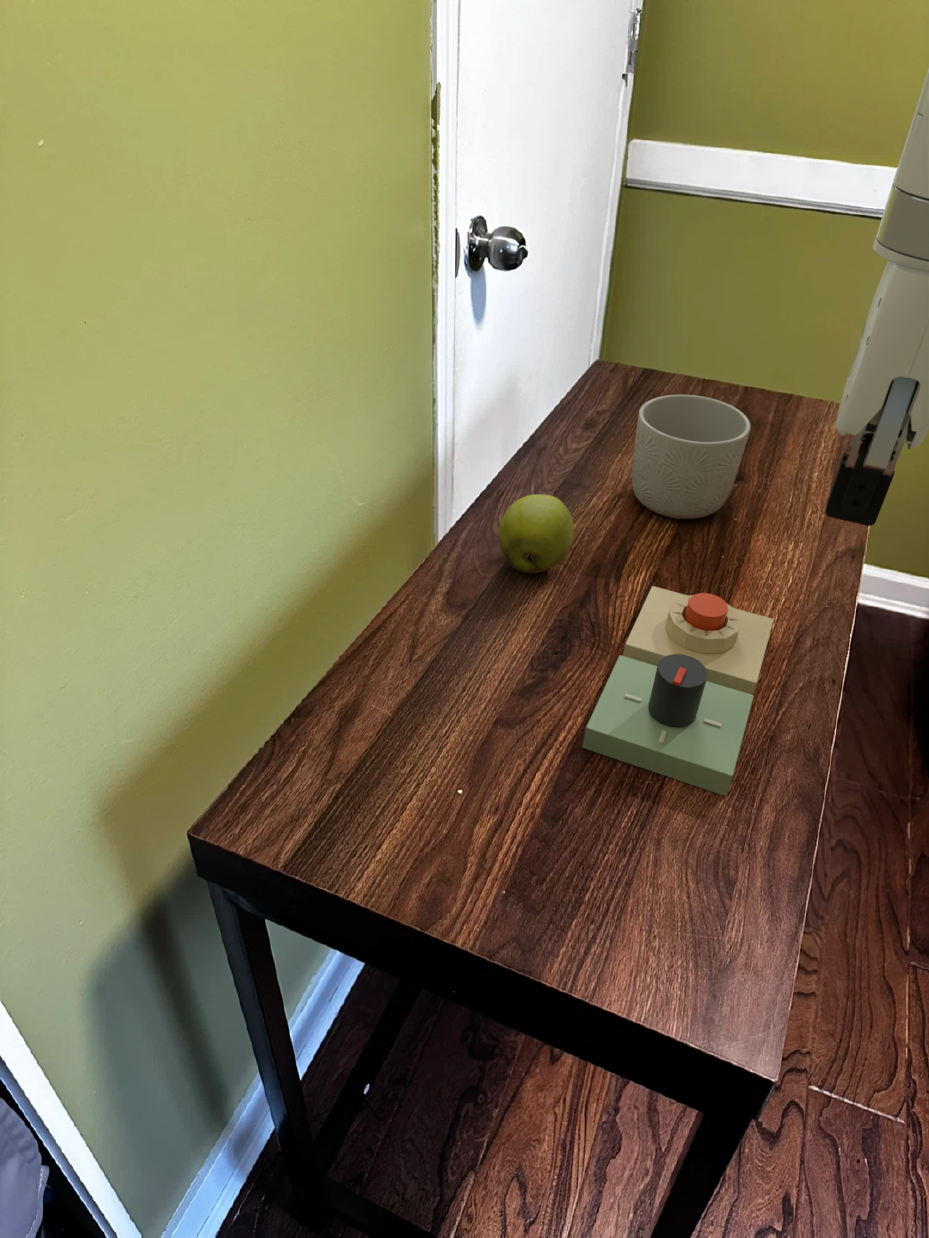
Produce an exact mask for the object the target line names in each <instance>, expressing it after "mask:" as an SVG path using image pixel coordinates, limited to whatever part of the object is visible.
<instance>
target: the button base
mask: <svg viewBox="0 0 929 1238" xmlns="http://www.w3.org/2000/svg"><path fill="white" fill-rule="evenodd" d="M693 595H694V594H692V595H691V594H690V595H688V594H684V593H680V592H677V591H673V590H669V589H666V588H663V587H658V586H654V585H651V588H650V590H649V592H648V594H647V596H646V598H645V600H644V603H643V605H642V607H641V609H640V611H639V614H638V616H637V618H636V620H635V622H634V625H633V626H632V629H631V631H630V633H629V635H628V637H627V639H626V642H625V644H624V649H623V653H622V656H625V657H628V658H631V659H635V660H638V661H641V662H645V663H648V664H651V665H655V666H658V663H659V661H660V660H661V659H662V658H663V657H665V656H668V655H672V654H683V655H687V656H690V657H693V658H695V659H697V660H698V661H700V662H701V663H702V664H703V665H704V666H705V668H706V670H707V673H708V677H707V680H706V681H708V682H711V683H714V684H718V685H721V686H724V687H728V688H731V689H734V690H738V691H741V692H744V693H748V694H751V695H754V694H755V690H756V687H757V684H758V682H759V677H760V673H761V670H762V665H763V663H764V658H765V654H766V650H767V647H768V643H769V639H770V634H771V631H772V628H773V623H774V618H771V617H768V616H766V615H765V616H764V615H761V614H757V613H753V612H749V611H746V610H742V609H739V608H735V607H733V606H731V605H729V603H727V602H726V604H727V606H728V611H727V615H726V618H725V622H724V625H723V626H722V628H720V629H719V630H716V631H704V630H701V629H697V628H694V627H693V626H692V625H690V624H689V623H687V621H686V619H685V613H686V609H687V605H688V601H689V598H690V597H691V596H693Z"/></svg>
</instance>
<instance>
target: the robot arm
mask: <svg viewBox="0 0 929 1238" xmlns="http://www.w3.org/2000/svg"><path fill="white" fill-rule="evenodd" d="M872 250H873V251H874V253H877V255H878V256H879V257H880V258H883V259H885V260H887V262H886V264H885V267H884V270H883V272H882V275H881V277H880V280H879V282H878V285H877V288H876V290H875V293H874V296H873V298H872V302H871V304H870V308H869V311H868V314H867V317H866V319H865V322H864V326H863V329H862V332H861V336H860V338H859V341H858V345H857V348H856V351H855V354H854V357H853V359H852V363H851V367H850V369H849V371H848V372H849V373H848V375H847V378H846V380H845V381H846V382H845V384H844V386H843V387H844V388H843V391H842V395H841V398H840V402H839V407H838V412H837V416H836V420H835V426H834V428H835V430H836V432H837V433H838V434H839V436H841V437H845V436H846V434H847V435H852V438H851V441H850V444H849V447H848V451H847V452H848V453H846V452H843V455H842V458H841V461H840V463H839V466H838V469H837V473H836V475H835V477H834V481H833V484H832V486H831V490H830V493H829V495H828V499H827V503H826V507H825V515H826V516H827V517H828V518H832V519H837V520H840V521H845V522H849V523H854V524H858V525H863V526H867V527H872V526H874V525H875V524H876V521H877V520H878V517H879V515H880V512H881V510H882V508H883V504H884V501H885V499H886V497H887V494H888V491H889V489H890V486H891V484H892V482H893V479H894V477H895V472H896V471H895V468H896V465H897V462H898V460H899V458H900V456H901V452H902V451H903V448H904V445H905V444H907V449H908V450H912V449H915V448H917V447H919V446H921V445H922V443H923V442H924V440H925V438H926V436H927V434H928V432H929V67H928V68H927V72H926V75H925V77H924V81H923V85H922V88H921V91H920V94H919V97H918V100H917V104H916V106H915V110H914V113H913V117H912V119H911V123H910V126H909V129H908V132H907V136H906V138H905V142H904V146H903V148H902V151H901V155H900V158H899V162H898V164H897V168H896V171H895V175H894V177H893V180H892V184H891V187H890V190H889V194H888V197H887V200H886V203H885V207H884V210H883V213H882V216H881V219H880V223H879V226H878V229H877V232H876V236H875V239H874V241H873V243H872Z"/></svg>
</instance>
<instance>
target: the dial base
mask: <svg viewBox="0 0 929 1238" xmlns="http://www.w3.org/2000/svg"><path fill="white" fill-rule="evenodd" d="M656 670H657V666H655V665H651V664H648V663H645V662H641V661H638V660H635V659H631V658H628V657H625V656H623V655H622V654H620V655H618V658H617V659H616V662H615V664H614V666H613V668H612V670H611V673H610V674H609V676H608V678H607V681H606V684H605V686H604V688H603V690H602V692H601V694H600V696H599V698H598V700H597V703H596V705H595V707H594V709H593V712H592V714H591V716H590V718H589V720H588V722H587V724H586V727H585V731H584V737H583V742H582V749H585V750H588V751H590V752H594V753H597V754H599V755H602V756H606V757H608V758H611V759H613V760H618V761H620V762H623V763H626V764H629V765H632V766H635V767H637V768H640V769H644V770H646V771H650V772H652V773H656V774H659V775H661V776H663V777H666V778H667V777H668V778H670V779H674V780H676V781H679V782H682V783H685V784H687V785H690V786H694V787H696V788H700V789H703V790H704V791H705V790H706V791H709V792H711V793H714V794H717V795H721V796H722V797H723V796H724V797H726V796H727V795H728V791H729V789H730V786H731V784H732V783H731V782H732V780H733V778H734V773H735V770H736V767H737V761H738V759H739V754H740V750H741V746H742V744H743V739H744V735H745V732H746V728H747V724H748V719H749V717H750V712H751V709H752V705H753V702H754V701H753V700H754V697H755V695H754V694H753V695H751V694H748V693H744V692H741V691H738V690H734V689H731V688H728V687H724V686H721V685H718V684H714V683H711V682H708V681H706V684H705V687H704V691H703V694H702V698H701V701H700V705H699V708H698V712H697V715H696V718H695V720H694V722H692V723H691V724H690V725H688V726H685V727H679V728H675V727H669V726H666V725H663V724H661V723H659V722H658V721H656V720H655V719H654V718H653V717H652V716H651V714H650V712H649V709H648V705H649V700H650V696H651V692H652V687H653V683H654V679H655V674H656Z"/></svg>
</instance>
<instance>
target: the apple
mask: <svg viewBox="0 0 929 1238" xmlns="http://www.w3.org/2000/svg"><path fill="white" fill-rule="evenodd" d="M506 509H507V510H505V512H504V514H503V516H502V518H501V521H500V524H499V527H498V542H499V547H500V550H501V553H502V556H503V558H504V560H505V561H506V563H507V564H508V565H510V566H511V567H512V568H513V569H515V570H516V571H518V572H520V573H523V574H538V573H543V572H545V571H548V570H550V569H553V568H554V567H556V566H557V565H559V564H560V563H561V562H562V561H563V560H564V559H565V557H566V556H567V555H568V553H569V551H570V549H571V548H572V545H573V542H574V536H575V529H574V528H575V526H574V520H573V517H572V515H571V512H570V511H569V509H568V507H567V506H566V504H565V503H564V502H563V501H562V500H560V499H559V498H558V497H556V496H554V495H550V494H539V493H537V494H534V493H533V494H528V495H525V496H523V497H521V498H519V499H517V500H516V501H514V502H513V503H512V504H511V505H509V507H508V508H506Z"/></svg>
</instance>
